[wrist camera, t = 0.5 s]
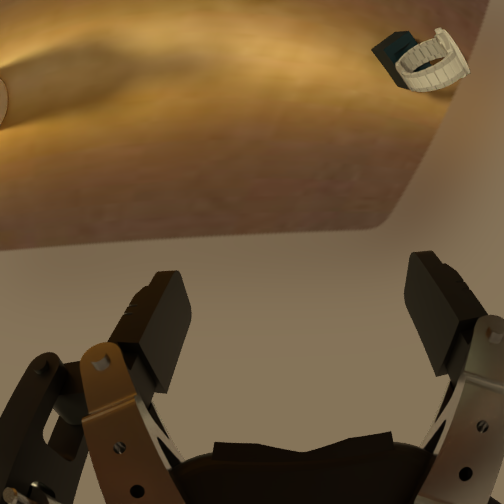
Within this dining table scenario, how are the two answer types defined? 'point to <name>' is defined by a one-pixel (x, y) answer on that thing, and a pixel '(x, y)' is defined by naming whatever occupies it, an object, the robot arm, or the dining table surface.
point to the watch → (421, 61)
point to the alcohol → (3, 100)
